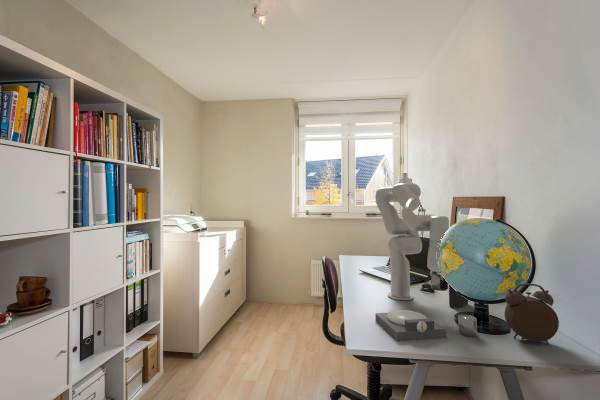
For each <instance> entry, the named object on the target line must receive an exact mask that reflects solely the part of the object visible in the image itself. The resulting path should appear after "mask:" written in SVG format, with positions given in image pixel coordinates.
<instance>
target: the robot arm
mask: <svg viewBox="0 0 600 400" xmlns="http://www.w3.org/2000/svg"><path fill="white" fill-rule="evenodd" d="M421 192H422V190H421V187H420V186H419V185H418V184H416V183H412V182H411V183H410V182H409V183H408V182H400V183H396V184H394V185H393V186H383V187H380V188H378V189H377V190H376V192H375V197H374V198H375V199H374V200H375V203H376V206H377V209H378V210H379V213H380V215H381V217H382V221H383V224H384V227H385V230H386V233H387V234H388V235H389V236H393V237H391V238H390V239H389V240H388V243H387V247H388V251H389V261H390V263H389V264H390V265H389V266H390V287H389V288H390V292H388V293H387V297H389V298H390V299H392V300H395V301H411V300H414V295H413V294H412V293H411V277H410V275H411V274H410V273H411V272H410V268H411V266H410V261H409V259H408V257H406V255H415V254H416V255H417V254H420V253H421V252H422V250H423V242H422V239H421V237H420V234H419V233H420V232H429V246H428V251H427V260H426V262H427V264H426V266H427V269H428V271H429V276H431V274H432V273H441V271H439V270H440V269H439V268H438V264H437V262H438V260H439V257H440V250H439V248H440V245H439V244H440V243H441V240H440V239H442V238H443V236H444V235H445V234H444V233H445V232H446V231H447V230H448V229H449V230H450V219H449V217H448V216H444V215H436V214H415V213H414V211H416V210H417V209H418V207H419V206H420V205H421V201H420V199H419V197H420V196H421ZM391 203H399V205H400V206H401V207H402V210H401V217H400V216H399V213H398V211H397V209H396V207H395V206H394V205H392V204H391ZM441 237H442V238H441ZM438 243H439V244H438ZM437 246H438V247H437ZM436 252H437V259H436ZM440 276H441V280H440V289H441V290H444V289H447V290H449V282H448V283H447V282H446V281H445V279H444V278H443V277H442V275H441V274H440Z"/></svg>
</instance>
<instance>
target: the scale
mask: <svg viewBox="0 0 600 400" xmlns="http://www.w3.org/2000/svg"><path fill="white" fill-rule="evenodd" d="M375 322H376V323H378V324H379V326H380V327H382V328H383V329H384V330H385V331H386V332H387V333H388V335H390V336H391V337H392V338H393V339H394V340H395V341H396V342H403V341H405V342H406V341H414V340H415V341H416V340H427V339H429V340H431V339H440V338H441V339H442V338H448V337H447V328H446V327H444V326H443V325H441V324H439V323H438V322H437V321H435V320H434V319H432V318H430V317H429V316H427V315H425V314H424V313H422V311H421V312H420V311H419V310H407V309H395V310H390V311H388V312H377V313H375Z"/></svg>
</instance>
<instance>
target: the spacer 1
mask: <svg viewBox="0 0 600 400" xmlns="http://www.w3.org/2000/svg"><path fill="white" fill-rule="evenodd" d="M440 280H441V276H440V273H432V274H431V275H430V285H431V287H430V288H431V289H432V290H434V291H438V292H439V291H440V292H446V291H448V289H444V290H441V289H440Z"/></svg>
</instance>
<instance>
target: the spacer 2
mask: <svg viewBox="0 0 600 400" xmlns="http://www.w3.org/2000/svg"><path fill="white" fill-rule="evenodd" d="M457 321H458V322H457V325H458V326H457V327H458V328H457V329H458V334H460V335H461V336H462V337H467V338H476V337H478V324H477V321H478V319H477V318H476V317H475V316H473V315H469V314H459V315H457Z"/></svg>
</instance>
